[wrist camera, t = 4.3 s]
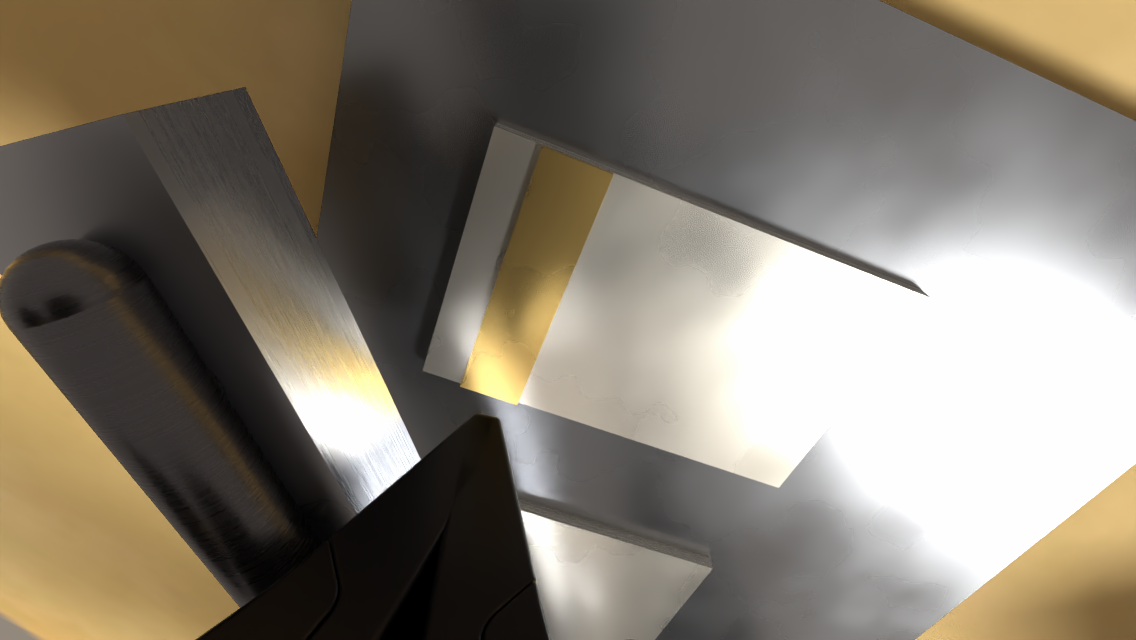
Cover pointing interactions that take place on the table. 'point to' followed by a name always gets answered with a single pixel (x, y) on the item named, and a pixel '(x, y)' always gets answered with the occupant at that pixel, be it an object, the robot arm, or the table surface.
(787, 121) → the panel
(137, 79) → the table surface
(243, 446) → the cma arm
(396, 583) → the robot arm
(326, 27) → the table surface
